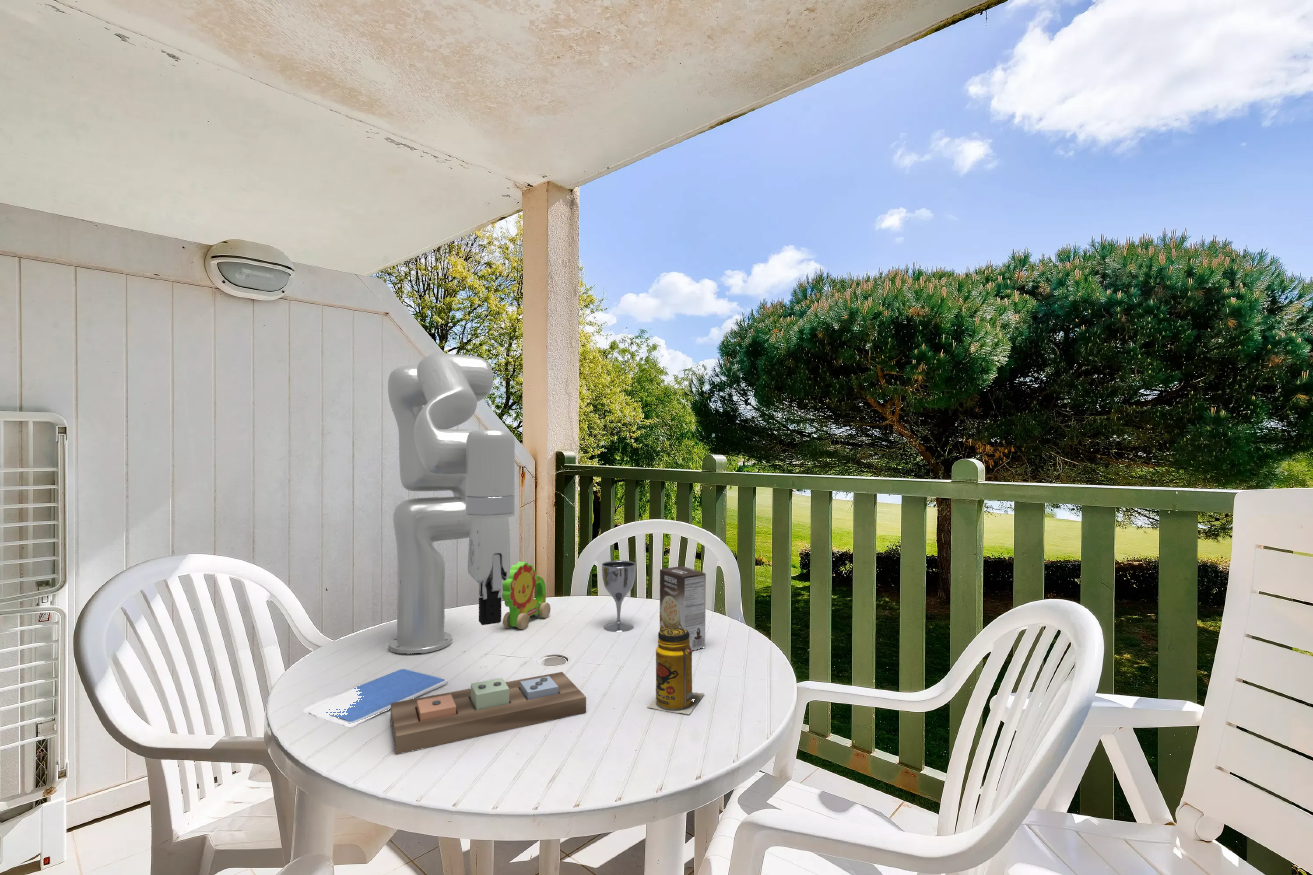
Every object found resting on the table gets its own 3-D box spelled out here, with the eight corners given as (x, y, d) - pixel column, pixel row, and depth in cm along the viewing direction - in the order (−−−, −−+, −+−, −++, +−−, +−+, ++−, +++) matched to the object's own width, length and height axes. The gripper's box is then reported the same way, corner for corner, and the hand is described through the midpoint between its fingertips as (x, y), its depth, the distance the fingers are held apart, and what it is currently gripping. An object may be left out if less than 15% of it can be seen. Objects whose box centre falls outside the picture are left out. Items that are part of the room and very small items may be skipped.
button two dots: (470, 702, 95) (470, 681, 95) (501, 695, 97) (502, 676, 97) (476, 714, 90) (476, 693, 90) (509, 707, 93) (509, 687, 93)
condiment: (646, 708, 96) (646, 634, 97) (665, 688, 104) (665, 620, 104) (689, 715, 94) (689, 640, 94) (704, 695, 102) (704, 625, 102)
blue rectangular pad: (349, 731, 89) (350, 723, 89) (300, 714, 95) (300, 705, 95) (449, 686, 106) (449, 679, 106) (402, 674, 112) (402, 667, 112)
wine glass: (606, 621, 144) (606, 560, 145) (638, 622, 143) (638, 560, 144) (598, 631, 137) (598, 566, 137) (632, 632, 135) (632, 567, 136)
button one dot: (416, 719, 91) (417, 699, 91) (450, 713, 93) (451, 692, 93) (420, 733, 86) (420, 711, 87) (455, 726, 89) (456, 705, 89)
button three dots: (520, 699, 98) (520, 680, 98) (549, 693, 101) (549, 674, 101) (528, 711, 94) (528, 691, 94) (558, 705, 96) (558, 685, 96)
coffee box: (658, 642, 129) (658, 568, 129) (681, 636, 133) (681, 565, 133) (683, 654, 122) (683, 576, 122) (707, 648, 125) (707, 572, 125)
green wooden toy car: (533, 614, 151) (533, 554, 151) (551, 616, 149) (552, 556, 149) (495, 632, 136) (495, 566, 136) (515, 634, 134) (515, 567, 135)
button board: (390, 719, 92) (390, 702, 92) (562, 685, 105) (562, 671, 105) (396, 754, 82) (396, 736, 82) (586, 712, 95) (586, 696, 95)
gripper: (458, 504, 99) (457, 614, 99) (475, 512, 86) (474, 639, 85) (503, 502, 102) (502, 608, 102) (526, 510, 89) (525, 632, 89)
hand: (490, 622), depth 94 cm, fingers closed
